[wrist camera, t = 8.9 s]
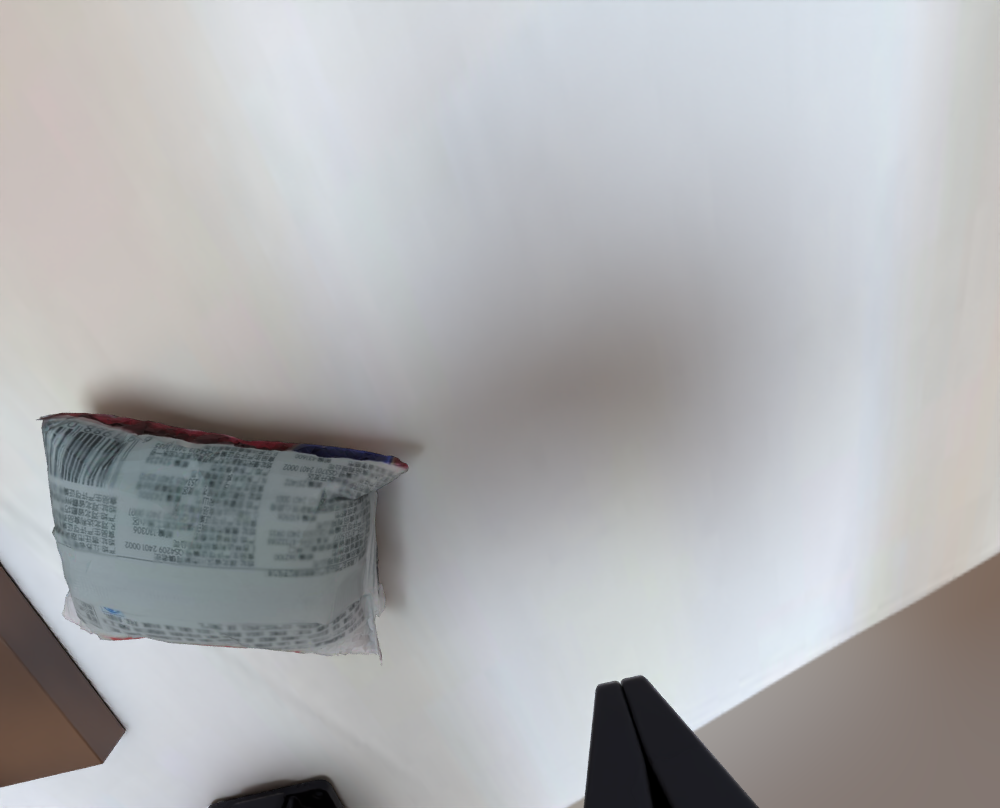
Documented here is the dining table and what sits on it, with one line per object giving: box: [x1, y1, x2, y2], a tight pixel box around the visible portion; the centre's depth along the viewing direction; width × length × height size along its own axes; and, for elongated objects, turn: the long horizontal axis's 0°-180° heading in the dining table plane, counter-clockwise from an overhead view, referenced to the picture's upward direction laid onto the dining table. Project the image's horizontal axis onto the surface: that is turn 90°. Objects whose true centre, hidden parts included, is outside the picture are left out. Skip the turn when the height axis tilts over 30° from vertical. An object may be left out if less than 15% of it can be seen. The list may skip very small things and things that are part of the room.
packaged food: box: [37, 413, 409, 665], centre depth 16 cm, size 9×12×5 cm
